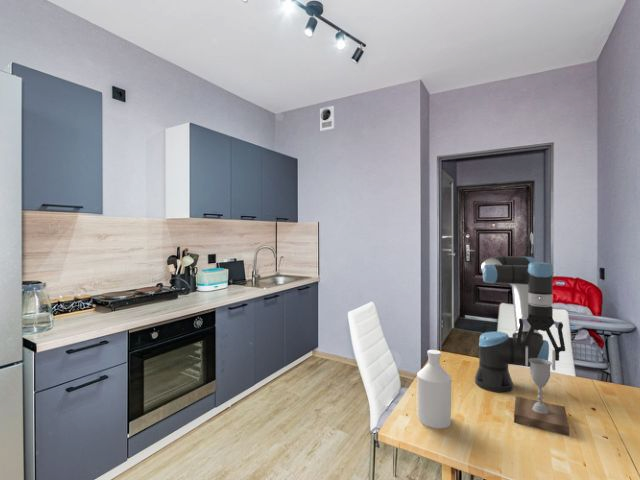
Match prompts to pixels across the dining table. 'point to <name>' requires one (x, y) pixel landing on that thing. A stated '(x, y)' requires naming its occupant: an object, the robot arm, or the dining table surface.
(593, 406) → the dining table surface
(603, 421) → the dining table surface
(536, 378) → the chalice
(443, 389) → the bottle
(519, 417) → the plinth
